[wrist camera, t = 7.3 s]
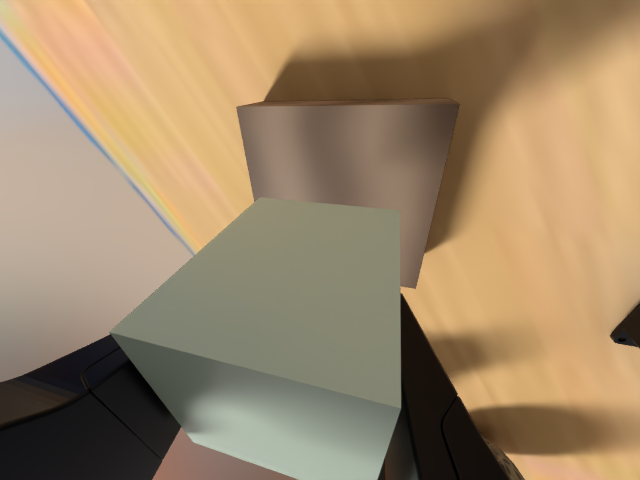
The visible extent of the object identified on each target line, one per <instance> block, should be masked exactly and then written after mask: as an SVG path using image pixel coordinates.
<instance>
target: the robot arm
mask: <svg viewBox="0 0 640 480" xmlns="http://www.w3.org/2000/svg"><path fill="white" fill-rule="evenodd" d="M400 321H401V410H400V413H399V416H398V419H397V422H396V425H395V428H394V431H393V434H392V437H391V440H390V443H389V446H388V449H387V452H386V455H385V478H386V480H511V479H510V478H509V476H508V475H507V473H506V472H505V471H504V469H503V468H502V466H501V464H500V463H499V461H498V460H497V458H496V457H495V455H494V454H493V452H492V451H491V449H490V447H489V446H488V444H487V443H486V441H485V440H484V438H483V437H482V435H481V433H480V432H479V430H478V428H477V426H476V425H475V423H474V421H473V420H472V418H471V416H470V415H469V413H468V411H467V409H466V407H465V406H464V404H463V402H462V400H461V398H460V397H459V396H457V395H458V393H457V391H456V390H455V388H454V386H453V384H452V382H451V381H450V379H449V377H448V375H447V373H446V372H445V370H444V368H443V366H442V364H441V363H440V361H439V359H438V357H437V355H436V354H435V352H434V350H433V348H432V346H431V345H430V343H429V341H428V339H427V337H426V336H425V334H424V332H423V330H422V328H421V327H420V325H419V323H418V321H417V319H416V318H415V316H414V314H413V312H412V310H411V309H410V307H409V305H408V303H407V301H406V300H405V298H404V296H403V294H401V293H400ZM610 337H611V339H612V340H613V341H614V342H615V343H618V344H623V345H629V346H635V347H639V348H640V304H639V305H638V306H637V307H636V308H635V309H634V310H633V311H632V312H631V313H630V314H629V315H628V317H627V318H626V319H625V320H624V321H623V322H622V323H621V324H620V325H619V326H618V327H617V328H616V329H615V330H614V331H613V332H612V333H611V335H610ZM180 428H181V425H180V424H179V423H178V421H177V420H176V419H175V417H174V416H173V415H172V414H171V412H170V411H169V410H168V408H167V407H166V406H165V404H164V403H163V402H162V401H161V399H160V398H159V397H158V395H157V394H156V393H155V391H154V390H153V389H152V387H151V386H150V385H149V384H148V382H147V381H146V380H145V378H144V377H143V376H142V374H141V373H140V372H139V371H138V369H137V368H136V367H135V365H134V364H133V363H132V361H131V360H130V359H129V357H128V356H127V355H126V354H125V352H124V351H123V350H122V348H121V347H120V346H119V344H118V343H117V342H116V340H115V339H114V338H113V337H112V335H111V334H110V335H108V336H106V337H104V338H102V339H100V340H98V341H96V342H94V343H91V344H90V345H87V346H85V347H83V348H81V349H79V350H77V351H74V352H72V353H70V354H68V355H66V356H64V357H61V358H60V359H57V360H55V361H53V362H51V363H49V364H47V365H45V366H42V367H40V368H38V369H36V370H33V371H31V372H29V373H27V374H24V375H22V376H19V377H16V378H13V379H10V380H7V381H4V382H0V480H152V479H153V477H154V475H155V473H156V471H157V470H158V468H159V466H160V465H161V463H162V459H164V457H165V455H166V453H167V452H168V450H169V448H170V446H171V444H172V443H173V441H174V439H175V437H176V435H177V434H178V432H179V430H180Z"/></svg>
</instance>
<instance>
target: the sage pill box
mask: <svg viewBox="0 0 640 480" xmlns="http://www.w3.org/2000/svg"><path fill="white" fill-rule="evenodd" d="M109 333H110V334H111V335H112V337H113V338H114V339H115V340H116V342H117V343H118V344H119V346H120V347H121V348H122V350H123V351H124V352H125V354H126V355H127V356H128V357H129V359H130V360H131V361H132V363H133V364H134V365H135V367H136V368H137V369H138V371H139V372H140V373H141V374H142V376H143V377H144V378H145V380H146V381H147V382H148V384H149V385H150V386H151V387H152V389H153V390H154V391H155V393H156V394H157V395H158V397H159V398H160V399H161V401H162V402H163V403H164V404H165V406H166V407H167V408H168V410H169V411H170V412H171V414H172V415H173V416H174V417H175V419H176V420H177V421H178V423H179V424H180V425H181V427H182V428H183V429H184V431H185V432H186V433H187V434H188V436H189V437H190V438H191V440H192V441H193V442H194V443H197V444H200V445H203V446H206V447H209V448H211V449H214V450H217V451H220V452H223V453H226V454H229V455H231V456H234V457H237V458H240V459H242V460H246V461H248V462H251V463H254V464H257V465H259V466H262V467H265V468H268V469H271V470H273V471H277V472H279V473H282V474H285V475H288V476H290V477H293V478H296V479H299V480H377V479H378V476H379V473H380V470H381V467H382V464H383V461H384V458H385V455H386V452H387V449H388V446H389V443H390V440H391V437H392V434H393V431H394V428H395V425H396V422H397V419H398V416H399V413H400V410H401V321H400V210H392V209H381V208H370V207H359V206H348V205H337V204H326V203H315V202H304V201H293V200H282V199H271V198H259V199H257V200H256V201H255V202H254V203H253V204H252V205H251V206H250V207H249V208H247V209H246V210H245V211H244V212H243V213H242V214H241V215H240V216H238V217H237V218H236V219H235V220H234V221H233V222H232V223H231V224H230V225H228V226H227V227H226V228H225V229H224V230H223V231H222V232H221V233H219V234H218V235H217V236H216V237H215V238H214V239H213V240H212V241H210V242H209V243H208V244H207V245H206V246H205V247H204V248H203V249H202V250H200V251H199V252H198V253H197V254H196V255H195V256H194V257H193V258H191V259H190V260H189V261H188V262H187V263H186V264H185V265H184V266H183V267H181V268H180V269H179V270H178V271H177V272H176V273H175V274H174V275H172V276H171V277H170V278H169V279H168V280H167V281H166V282H165V283H163V284H162V285H161V286H160V287H159V288H158V289H157V290H156V291H155V292H153V293H152V294H151V295H150V296H149V297H148V298H147V299H146V300H144V301H143V302H142V303H141V304H140V305H139V306H138V307H137V308H136V309H134V310H133V311H132V312H131V313H130V314H129V315H128V316H127V317H125V318H124V319H123V320H122V321H121V322H120V323H119V324H118V325H117V326H115V328H113V329H112V330H111V331H110V332H109Z"/></svg>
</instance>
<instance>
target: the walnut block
mask: <svg viewBox="0 0 640 480" xmlns="http://www.w3.org/2000/svg"><path fill="white" fill-rule="evenodd" d="M459 105H460V104H459V103H457V102H455V101H453V100H451V99H449V98H431V99H375V100H318V101H263V102H258V103H253V104H248V105H243V106H238V107H236V108H237V113H238V118H239V124H240V129H241V134H242V139H243V145H244V150H245V155H246V160H247V165H248V171H249V176H250V181H251V186H252V192H253V197H254V202H255V201H256V200H257V199H259V198H271V199H282V200H293V201H304V202H315V203H326V204H337V205H348V206H359V207H370V208H381V209H392V210H400V286H402V287H408V288H415V289H416V286H417V281H418V277H419V273H420V269H421V265H422V260H423V256H424V252H425V248H426V244H427V239H428V235H429V231H430V227H431V223H432V218H433V214H434V210H435V206H436V202H437V197H438V193H439V189H440V185H441V181H442V176H443V172H444V168H445V164H446V160H447V155H448V151H449V147H450V143H451V139H452V134H453V130H454V126H455V122H456V118H457V113H458V109H459Z"/></svg>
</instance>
